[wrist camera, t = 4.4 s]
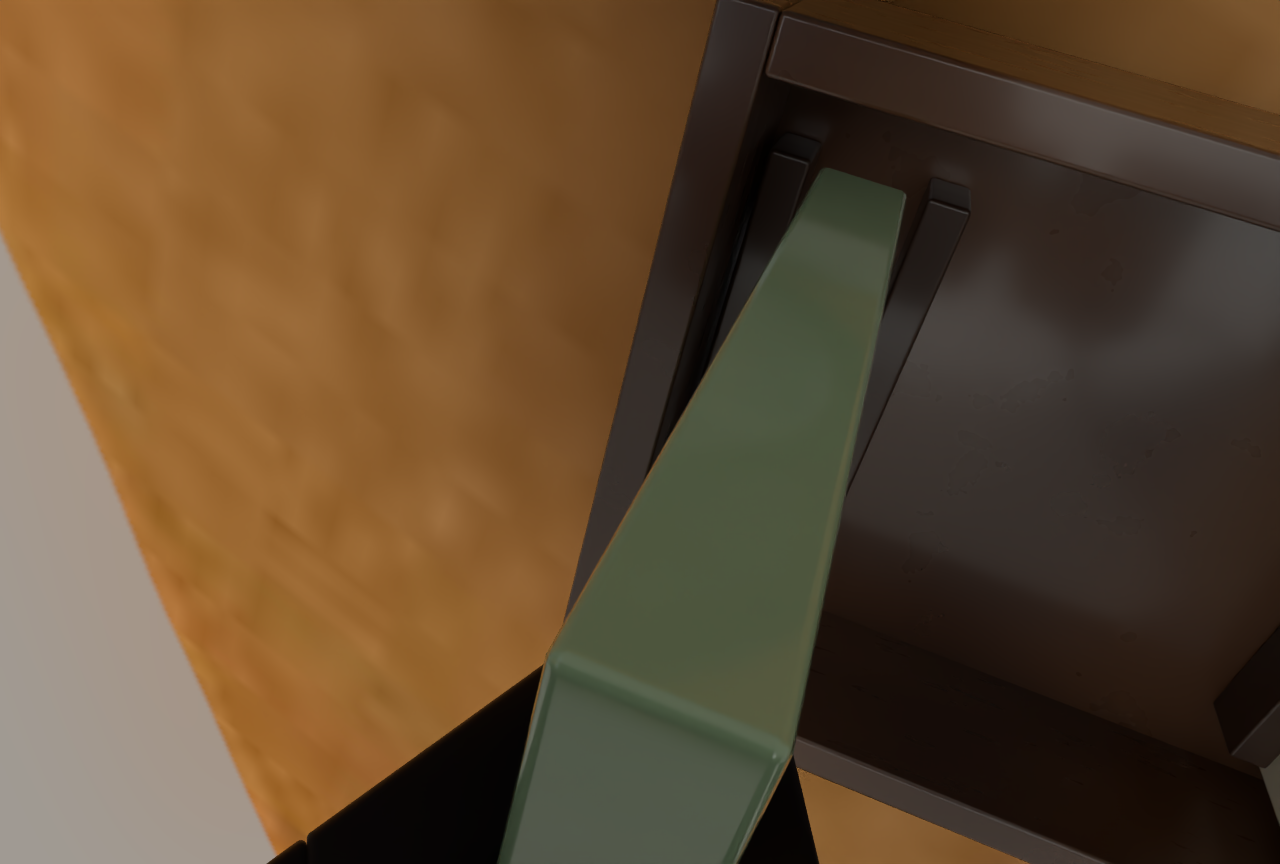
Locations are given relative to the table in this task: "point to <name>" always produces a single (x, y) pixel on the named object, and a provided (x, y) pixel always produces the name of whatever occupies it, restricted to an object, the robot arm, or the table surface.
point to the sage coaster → (716, 572)
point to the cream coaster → (1273, 784)
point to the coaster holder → (1010, 424)
